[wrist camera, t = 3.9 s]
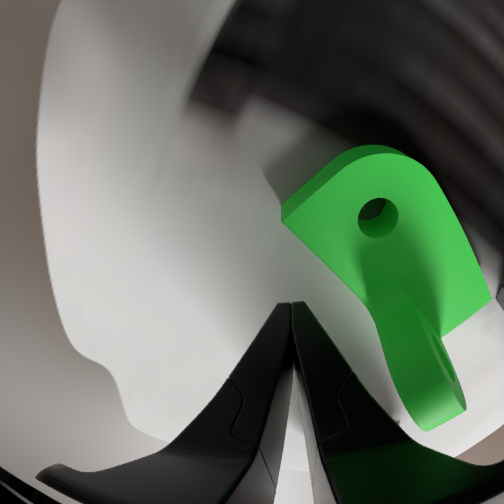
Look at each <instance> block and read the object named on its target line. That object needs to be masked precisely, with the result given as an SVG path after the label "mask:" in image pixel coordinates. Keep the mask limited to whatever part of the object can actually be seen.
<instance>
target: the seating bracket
mask: <svg viewBox="0 0 504 504" xmlns="http://www.w3.org/2000/svg"><path fill="white" fill-rule="evenodd" d="M496 300H497V302H498V303H499V304H500V306H501V307H502V309H503V310H504V285H501V287H500V290H499V293H498V295H497V298H496Z"/></svg>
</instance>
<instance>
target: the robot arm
mask: <svg viewBox="0 0 504 504" xmlns="http://www.w3.org/2000/svg"><path fill="white" fill-rule="evenodd" d="M294 369H295V376H296V383H297V389H298V395H299V402H300V408H301V415H302V421H303V428H304V435H305V441H306V448H307V455H308V462H309V469H310V476H311V483H312V491H313V498H314V504H504V460H502V461H500V462H498V463H495V464H492V465H475V464H471V463H468V462H465V461H462V460H459V459H457V458H454V457H451V456H448V455H446V454H443V453H440V452H438V451H435V450H433V449H430V448H427V447H425V446H423V445H421V444H419V443H417V442H416V441H415V440H413V439H412V438H411V437H410V436H408V435H407V434H406V433H405V432H404V431H403V429H402V428H401V427H400V426H399V425H398V424H397V423H396V422H395V421H394V420H393V419H392V418H391V417H390V416H389V414H388V413H387V412H386V411H385V410H384V409H383V408H382V407H381V406H380V405H379V404H378V403H377V401H376V400H375V399H374V398H373V397H372V396H371V394H370V393H369V392H368V391H367V389H366V388H365V387H364V385H363V384H362V383H361V381H360V380H359V379H358V377H357V376H356V374H355V373H354V372H352V369H351V367H350V366H349V364H348V363H347V361H346V360H345V359H344V357H343V356H342V354H341V353H340V351H339V350H338V348H337V347H336V346H335V344H334V343H333V341H332V340H331V338H330V337H329V336H328V334H327V333H326V331H325V330H324V328H323V327H322V326H321V324H320V323H319V321H318V320H317V318H316V317H315V316H314V314H313V313H312V311H311V310H310V309H309V307H308V306H307V304H306V303H305V302H304V301H298V302H292V303H290V302H284V303H278V304H277V305H276V306H275V308H274V309H273V311H272V313H271V314H270V316H269V317H268V319H267V320H266V322H265V323H264V325H263V326H262V328H261V329H260V331H259V332H258V334H257V336H256V337H255V339H254V340H253V342H252V343H251V345H250V346H249V348H248V349H247V351H246V352H245V353H244V355H243V356H242V358H241V359H240V361H239V362H238V364H237V365H236V367H235V368H234V370H233V371H232V373H231V374H230V375H229V378H227V380H226V381H225V382H224V384H223V385H222V387H221V388H220V390H219V391H218V392H217V393H216V395H215V396H214V397H213V399H212V400H211V401H210V402H209V403H208V405H207V406H206V407H205V408H204V409H203V410H202V411H201V412H200V413H199V414H198V416H197V417H196V418H195V419H194V420H193V421H192V422H191V423H190V424H189V425H188V426H187V427H186V428H185V429H184V430H183V431H182V432H181V433H180V434H179V435H178V436H177V437H176V438H175V439H174V440H173V441H172V442H171V443H170V444H169V445H167V446H166V447H165V448H163V449H162V450H160V451H158V452H156V453H154V454H151V455H148V456H146V457H143V458H140V459H137V460H134V461H131V462H128V463H125V464H122V465H119V466H115V467H112V468H109V469H105V470H101V471H97V472H80V471H77V470H75V469H72V468H70V467H67V466H65V465H63V464H55V465H53V466H50V467H48V468H45V469H43V470H42V471H41V472H39V473H38V474H37V475H36V477H35V478H36V479H37V480H39V481H41V482H42V483H44V484H46V485H47V486H49V487H51V488H53V489H55V490H56V491H58V492H60V493H62V494H64V495H66V496H68V497H70V498H72V499H74V500H76V501H78V502H80V503H82V504H273V503H274V498H275V493H276V487H277V481H278V476H279V470H280V465H281V459H282V453H283V446H284V440H285V433H286V427H287V420H288V413H289V405H290V398H291V390H292V382H293V373H294ZM0 504H62V503H60V502H58V501H57V500H55V499H53V498H51V497H50V496H48V495H46V494H44V493H43V492H41V491H39V490H37V489H36V488H34V487H33V486H31V485H29V484H28V483H26V482H24V481H23V480H21V479H19V478H18V477H16V476H15V475H13V474H12V473H10V472H9V471H7V470H5V469H4V468H3V467H1V466H0Z"/></svg>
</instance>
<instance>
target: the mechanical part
mask: <svg viewBox="0 0 504 504" xmlns="http://www.w3.org/2000/svg"><path fill="white" fill-rule="evenodd" d="M375 198H385V206H384V209H383V211H382V212H381V213H380V215H378V216H377V217H376V218H374V219H371V220H361V219H358V215H359V212H360V210H361V208H362V207H363V206H364V205H365V204H366V203H367V202H368V201H370V200H372V199H375ZM281 220H282V223H283V224H284V225H286V226H287V227H288V228H289V229H290V230H291V231H292V232H293V233H294V234H295V235H296V236H297V237H298V238H299V239H300V240H301V241H302V242H303V243H304V244H305V245H306V246H307V247H308V248H309V249H310V250H312V251H313V252H314V253H315V254H316V255H317V256H318V257H319V258H320V259H321V260H322V261H323V262H324V263H325V264H326V265H327V266H328V267H329V268H330V269H331V270H332V271H333V272H334V273H335V274H336V275H337V276H338V277H339V278H340V279H341V280H342V281H343V282H344V283H345V284H346V285H347V286H348V287H349V288H350V289H351V290H352V291H353V292H354V293H355V294H356V295H357V296H358V297H359V298H360V300H361V301H362V302H363V303H364V305H365V306H366V307H367V309H368V311H369V312H370V314H371V316H372V318H373V320H374V322H375V324H376V327H377V331H378V334H379V337H380V341H381V344H382V348H383V351H384V355H385V358H386V362H387V365H388V368H389V371H390V374H391V377H392V379H393V382H394V384H395V387H396V389H397V391H398V394H399V396H400V398H401V400H402V402H403V404H404V406H405V408H406V409H407V411H408V413H409V414H410V416H411V417H412V419H413V420H414V422H415V423H416V424H417V425H418V427H419V428H420V429H422V430H423V431H426V432H427V431H429V430H431V429H433V428H435V427H437V426H439V425H441V424H443V423H445V422H447V421H448V420H450V419H452V418H454V417H456V416H457V415H459V414H461V413H462V412H464V411H466V402H465V398H464V394H463V391H462V388H461V385H460V383H459V380H458V378H457V375H456V373H455V370H454V368H453V365H452V363H451V360H450V358H449V356H448V353H447V351H446V349H445V347H444V344H443V342H442V340H441V338H442V337H443V336H445V335H446V334H447V333H449V332H450V331H452V330H453V329H454V328H456V327H457V326H459V325H460V324H461V323H463V322H464V321H465V320H467V319H468V318H469V317H471V316H472V315H473V314H474V313H476V312H477V311H478V310H479V309H481V308H482V307H483V306H484V305H486V304H487V303H488V302H489V301H490V300H492V298H491V295H490V293H489V290H488V287H487V284H486V282H485V279H484V277H483V274H482V272H481V269H480V267H479V264H478V262H477V259H476V257H475V255H474V253H473V250H472V248H471V246H470V244H469V242H468V239H467V237H466V235H465V233H464V231H463V229H462V227H461V225H460V223H459V221H458V219H457V217H456V215H455V213H454V211H453V209H452V208H451V206H450V204H449V202H448V200H447V199H446V197H445V195H444V193H443V191H442V190H441V188H440V186H439V185H438V183H437V181H436V180H435V178H434V177H433V175H432V174H431V173H430V172H429V171H428V170H427V169H426V168H425V167H424V166H423V165H421V164H420V163H418V162H417V161H415V160H414V159H412V158H410V157H409V156H407V155H405V154H404V153H402V152H400V151H398V150H396V149H393V148H391V147H387V146H383V145H363V146H359V147H355V148H352V149H349V150H347V151H345V152H343V153H341V154H340V155H338V156H337V157H335V158H334V159H333V160H332V161H330V162H329V163H328V164H327V165H326V166H325V167H324V168H323V169H321V170H320V171H319V172H318V173H317V174H316V175H315V176H313V177H312V178H311V179H310V180H309V181H308V182H307V183H306V184H304V185H303V186H302V187H301V188H300V189H299V190H298V191H297V192H295V193H294V194H293V195H292V196H291V197H290V198H289V199H288V200H286V201H285V202H284V203H283V204H282V205H281Z"/></svg>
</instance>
